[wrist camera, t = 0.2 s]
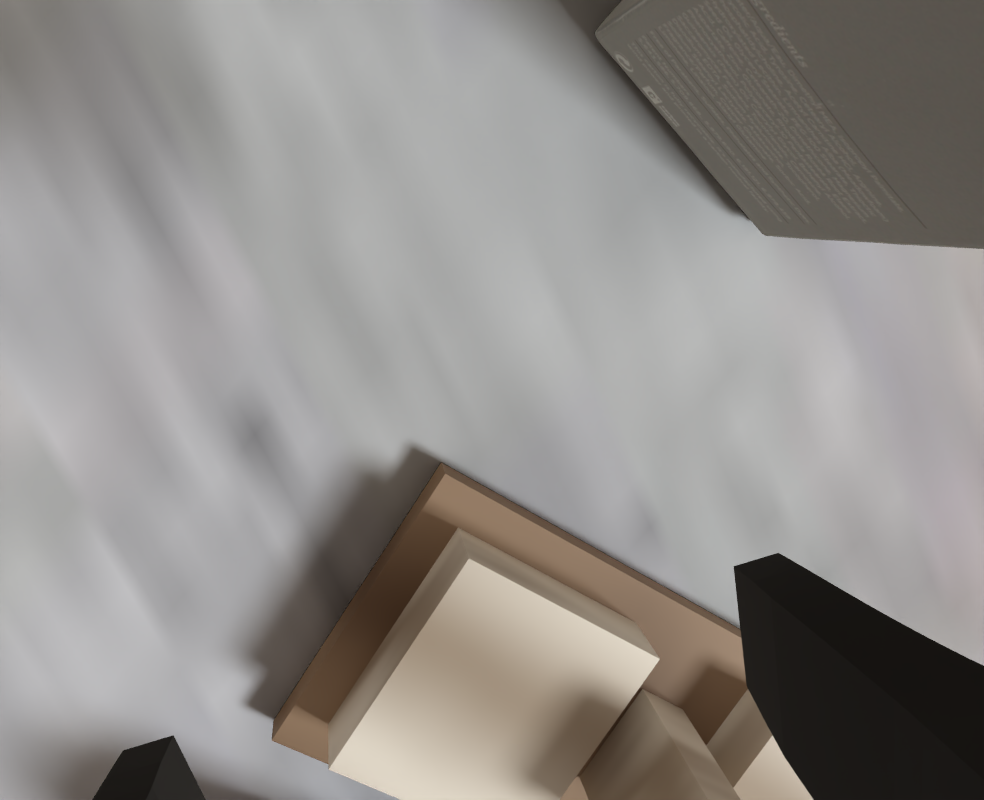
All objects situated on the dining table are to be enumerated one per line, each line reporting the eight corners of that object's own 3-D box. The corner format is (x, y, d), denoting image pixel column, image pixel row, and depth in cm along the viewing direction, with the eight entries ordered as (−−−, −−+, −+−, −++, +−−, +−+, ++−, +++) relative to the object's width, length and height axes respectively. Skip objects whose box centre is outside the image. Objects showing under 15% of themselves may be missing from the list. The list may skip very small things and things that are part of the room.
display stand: (762, 930, 27) (858, 1100, 23) (273, 720, 23) (259, 879, 18) (918, 729, 26) (1054, 860, 22) (441, 462, 21) (475, 554, 17)
